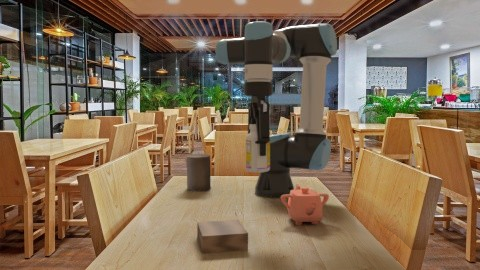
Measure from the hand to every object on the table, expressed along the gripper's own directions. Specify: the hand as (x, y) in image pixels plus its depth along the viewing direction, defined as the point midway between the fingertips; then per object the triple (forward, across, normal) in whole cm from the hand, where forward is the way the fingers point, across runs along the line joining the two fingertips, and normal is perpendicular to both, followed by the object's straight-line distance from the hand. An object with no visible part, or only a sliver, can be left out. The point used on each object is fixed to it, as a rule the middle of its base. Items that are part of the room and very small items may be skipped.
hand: (258, 165), depth 109 cm
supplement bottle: (+2, 0, 0) cm, 2 cm away
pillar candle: (+19, -55, -10) cm, 59 cm away
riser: (+18, +9, -12) cm, 23 cm away
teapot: (+18, -5, +16) cm, 25 cm away
